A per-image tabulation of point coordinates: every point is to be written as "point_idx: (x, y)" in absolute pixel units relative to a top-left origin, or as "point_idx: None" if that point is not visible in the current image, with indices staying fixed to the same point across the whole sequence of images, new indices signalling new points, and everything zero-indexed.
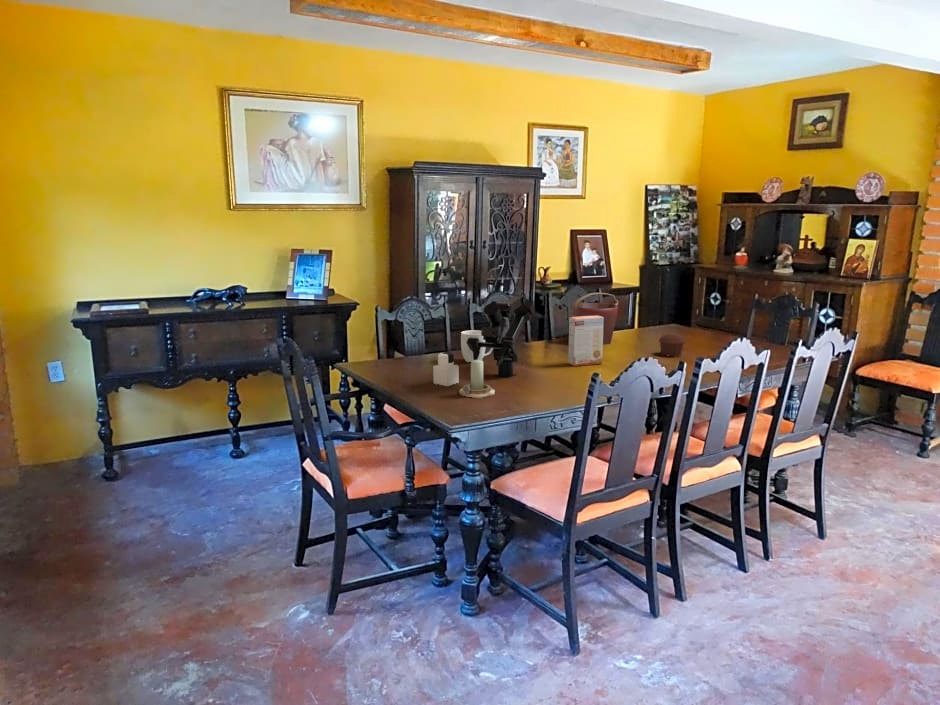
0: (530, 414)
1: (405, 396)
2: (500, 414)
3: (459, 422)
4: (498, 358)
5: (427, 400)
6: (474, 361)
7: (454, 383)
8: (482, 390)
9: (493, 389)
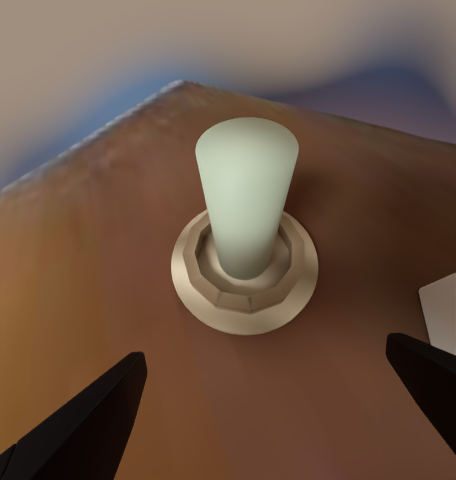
0: (41, 165)
1: (405, 145)
2: (113, 141)
3: (179, 92)
4: (84, 407)
5: (325, 145)
6: (263, 138)
7: (432, 345)
8: (201, 218)
9: (186, 302)
